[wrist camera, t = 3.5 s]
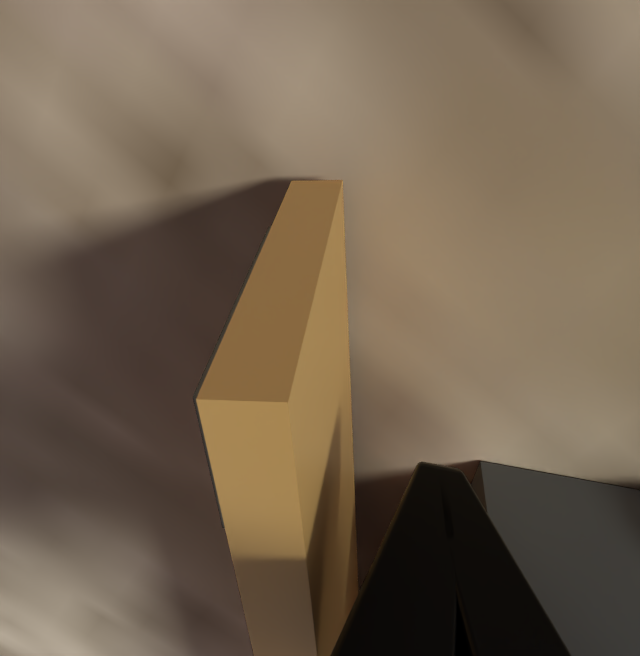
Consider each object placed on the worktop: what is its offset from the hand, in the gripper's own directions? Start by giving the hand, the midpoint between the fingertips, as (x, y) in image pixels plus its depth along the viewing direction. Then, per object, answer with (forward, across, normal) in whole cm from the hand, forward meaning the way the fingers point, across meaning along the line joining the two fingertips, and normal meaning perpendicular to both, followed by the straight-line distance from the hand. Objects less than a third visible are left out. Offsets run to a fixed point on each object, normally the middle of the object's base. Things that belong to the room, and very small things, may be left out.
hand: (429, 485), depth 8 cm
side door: (+3, +1, +6) cm, 7 cm away
